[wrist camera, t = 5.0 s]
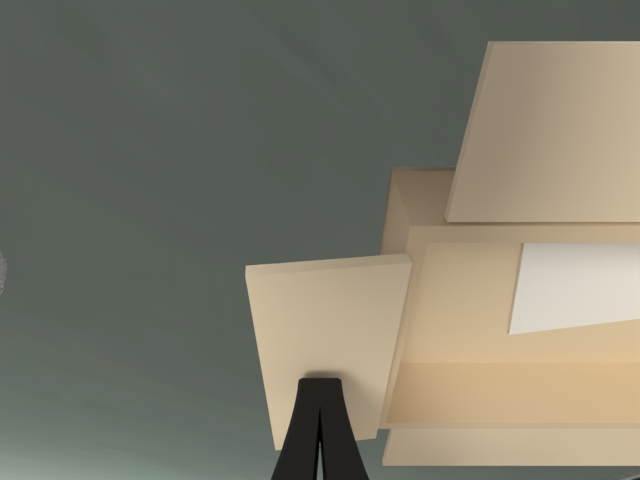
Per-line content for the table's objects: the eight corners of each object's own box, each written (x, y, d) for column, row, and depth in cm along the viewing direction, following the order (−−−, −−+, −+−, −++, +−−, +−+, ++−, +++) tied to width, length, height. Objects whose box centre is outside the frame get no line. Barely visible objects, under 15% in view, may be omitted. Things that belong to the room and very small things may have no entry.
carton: (411, 18, 10) (444, 44, 7) (1066, 18, 10) (1343, 45, 7) (359, 405, 23) (365, 466, 20) (646, 405, 23) (690, 466, 20)
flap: (412, 262, 10) (407, 253, 10) (244, 275, 10) (245, 265, 10) (375, 438, 17) (373, 429, 17) (275, 450, 16) (275, 441, 17)
